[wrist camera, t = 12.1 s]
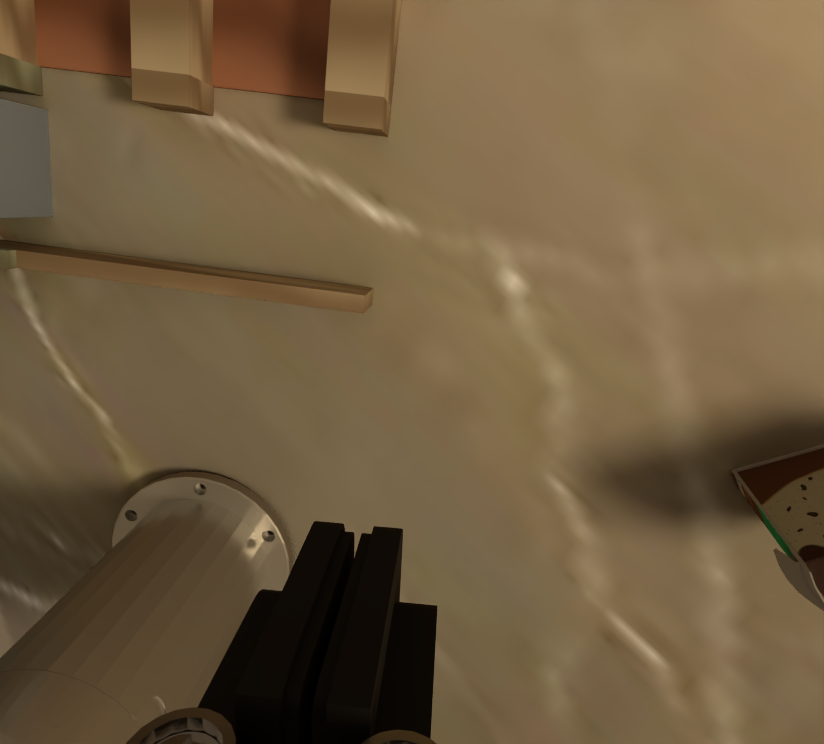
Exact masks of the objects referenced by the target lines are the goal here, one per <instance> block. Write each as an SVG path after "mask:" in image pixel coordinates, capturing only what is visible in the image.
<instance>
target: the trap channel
mask: <svg viewBox="0 0 824 744" xmlns="http://www.w3.org/2000/svg"><path fill="white" fill-rule="evenodd" d="M400 10H401V0H0V91H6V92H14V93H23V94H31V95H40V96H43V93H42V78H41V67H46V68H55V69H64V70H72V71H81V72H90V73H98V74H107V75H115V76H124V77H132V100H133V101H136V102H139V103H142V104H145V105H148V106H151V107H154V108H157V109H160V110H167V111H175V112H184V113H192V114H201V115H209V116H213V89H214V87H219V88H228V89H237V90H245V91H254V92H263V93H271V94H280V95H289V96H297V97H306V98H315V99H323V100H324V112H323V123H324V124H326V125H328V126H329V127H331V128H332V129H334V130H337V131H345V132H354V133H362V134H371V135H379V136H388V133H389V123H390V113H391V102H392V92H393V82H394V72H395V61H396V51H397V41H398V31H399V21H400ZM0 268H6V269H13V268H22V269H30V270H37V271H45V272H52V273H60V274H68V275H75V276H83V277H90V278H98V279H106V280H113V281H121V282H128V283H136V284H143V285H151V286H159V287H166V288H174V289H181V290H189V291H197V292H204V293H212V294H219V295H227V296H235V297H242V298H250V299H257V300H265V301H273V302H280V303H288V304H295V305H303V306H311V307H318V308H326V309H333V310H341V311H349V312H356V313H365V312H366V310H367V309H368V308H369V307H370V306H371V305H372V297H373V288H368V287H360V286H352V285H345V284H337V283H329V282H321V281H314V280H306V279H298V278H291V277H283V276H275V275H267V274H260V273H252V272H244V271H237V270H229V269H221V268H213V267H206V266H198V265H190V264H183V263H175V262H167V261H159V260H152V259H144V258H136V257H129V256H121V255H113V254H105V253H98V252H90V251H82V250H75V249H67V248H59V247H51V246H44V245H36V244H28V243H21V242H13V241H5V240H0Z"/></svg>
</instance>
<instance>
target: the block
mask: <svg viewBox="0 0 824 744" xmlns="http://www.w3.org/2000/svg"><path fill="white" fill-rule="evenodd" d="M21 217H53V212H52V190H51V168H50V146H49V124H48V110H46V109H42V108H38V107H34V106H30V105H25V104H21V103H17V102H13V101H9V100H4V99H0V218H21Z"/></svg>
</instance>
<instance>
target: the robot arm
mask: <svg viewBox="0 0 824 744" xmlns="http://www.w3.org/2000/svg"><path fill="white" fill-rule="evenodd" d="M402 541H403V529H399V528H388V527H376V526H374V528H373V531H372V534H366V533H362V535H361V538H360V541H359V544H358V548H357V551H356V554H355V558H354V533H353V532H345V528H344V524H342V523H330V522H319V521H315V522H314V523H313V525H312V527H311V529H310V531H309V533H308V535H307V538H306V540H305V542H304V544H303V546H302V548H301V551H300V553H299V555H298V557H297V559H296V561H295V564H294V566H293V568H292V563H293V557H292V551H291V544H290V541H289V538H288V536H287V533H286V530H285V528H284V526H283V525H282V523H281V521H280V520H279V518H278V516H277V515H276V514H275V512H274V511H273V510H272V509H271V508H270V507H269V505H268V504H267V503H266V502H265V501H264V500H263V499H261V498H260V497H259V496H258V495H256V494H255V493H254V492H253V491H252V490H250V489H248V488H246V487H245V486H243V485H241V484H239V483H238V482H236V481H233V480H231V479H228V478H225V477H222V476H220V475H215V474H210V473H205V472H180V473H174V474H168V475H166V476H163V477H161V478H158V479H155V480H153V481H152V482H150V483H149V484H147V485H146V486H144V487H142V488H141V489H140V490H139V491H138V492H137V493H136V494H134V495H133V496H132V497H131V498H130V499H129V500H128V501H127V502H126V504H125V505H124V506H123V507H122V509H121V510H120V512H119V515H118V517H117V519H116V522H115V524H114V528H113V534H112V549H111V550H110V551H109V552H108V553H107V554H106V555H105V556H104V557H103V558H102V559H101V560H100V561H99V562H98V563H97V564H96V565H95V566H94V567H93V568H92V569H91V570H90V571H89V572H88V573H87V574H86V575H85V576H84V577H83V578H81V579H80V580H79V581H78V582H77V583H76V584H75V585H74V586H73V587H72V588H71V589H70V590H69V591H68V592H67V593H66V594H65V595H64V596H63V597H62V598H61V599H60V600H59V601H58V602H57V603H56V604H55V605H54V606H53V607H52V608H51V609H50V610H49V611H48V612H47V613H46V614H45V615H44V616H43V617H42V618H41V619H40V620H39V621H38V622H37V623H36V624H35V625H34V626H33V627H32V628H31V629H30V630H29V631H28V632H26V633H25V634H24V635H23V636H22V637H21V638H20V639H19V640H18V641H17V642H16V643H15V644H14V645H13V646H12V647H11V648H10V649H9V650H8V651H7V652H6V653H5V654H4V655H3V656H2V657H1V658H0V744H436V743H435V742H434V741H432V740H431V739H430V735H431V716H432V697H433V678H434V659H435V640H436V621H437V606H435V605H424V604H414V603H403V602H399V599H400V580H401V561H402Z"/></svg>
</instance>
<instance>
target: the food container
mask: <svg viewBox="0 0 824 744" xmlns="http://www.w3.org/2000/svg"><path fill="white" fill-rule="evenodd" d="M731 473H732V476H733V478H734V481H735V484H736V486H737V487H738V489H739V490H740V491H741V493H742V494H743V495H744V497H745V498H746V500H747V501H748V502H749V504H750V505H751V506H752V508H753V509H754V511H755V512H756V513H757V515H758V516H759V517H760V519H761V520H762V522H763V523H764V524H765V526H766V527H767V529H768V530H769V531H770V533H771V534H772V535H773V537H774V538H775V540H776V541H777V542H778V544H779V545H780V546H781V548H782V549H783V551H784V552H785V553H786V555H787V556H786V555H785V554H783V553H782V552H780V551H779V550H778V549H775V550H774V553H775V556H776V558H777V561H778V564H779V566H780V568H781V569H782V571H783V573H784V574H785V576H786V578H787V579H788V581H789V582H790V583H791V584H792V585H793V586H794V587H795V589H796V590H797V591H798V592H799V593H800V594H802V595H803V596H804V597H805V598H807V599H808V600H809V601H810V602H812V603H813V604H814V605H816V606H817V607H819V608H820V609H821V610H823V611H824V444H821V445H817V446H813V447H810V448H806V449H803V450H799V451H796V452H792V453H788V454H785V455H781V456H778V457H774V458H771V459H767V460H763V461H760V462H756V463H753V464H749V465H746V466H742V467H738V468H735V469H731Z"/></svg>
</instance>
